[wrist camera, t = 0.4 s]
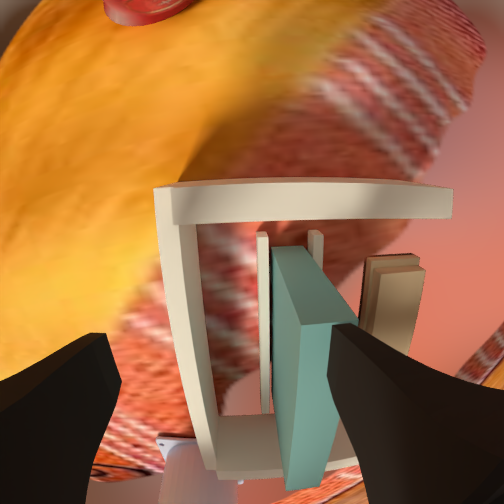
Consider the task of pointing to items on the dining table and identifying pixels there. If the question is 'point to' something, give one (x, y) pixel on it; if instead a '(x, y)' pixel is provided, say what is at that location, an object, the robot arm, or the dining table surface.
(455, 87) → the dining table surface
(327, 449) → the teal panel
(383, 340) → the block
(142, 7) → the liquor
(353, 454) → the rack
